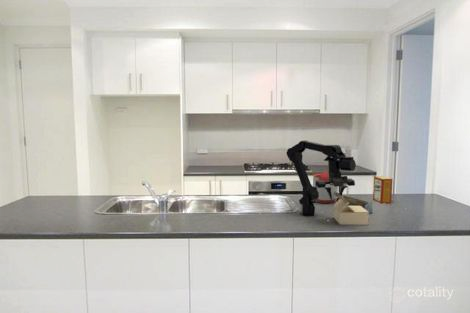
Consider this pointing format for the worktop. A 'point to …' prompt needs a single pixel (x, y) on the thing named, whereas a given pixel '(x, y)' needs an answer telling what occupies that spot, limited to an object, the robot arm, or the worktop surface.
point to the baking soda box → (382, 189)
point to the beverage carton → (358, 203)
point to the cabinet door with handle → (340, 202)
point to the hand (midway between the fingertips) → (335, 199)
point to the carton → (351, 216)
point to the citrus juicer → (322, 191)
